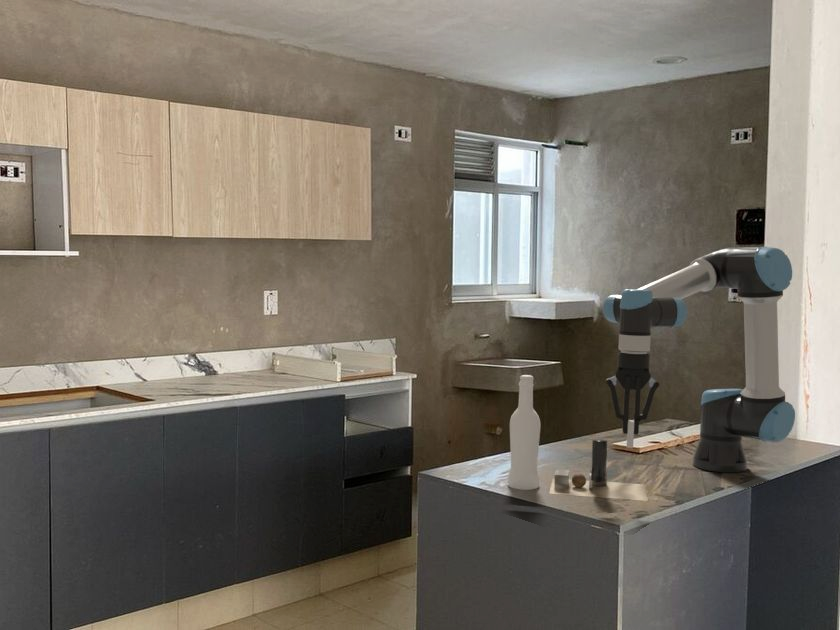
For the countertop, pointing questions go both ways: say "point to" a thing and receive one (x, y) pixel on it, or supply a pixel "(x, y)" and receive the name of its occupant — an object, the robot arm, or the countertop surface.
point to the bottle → (524, 439)
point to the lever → (598, 461)
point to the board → (597, 488)
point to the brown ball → (579, 480)
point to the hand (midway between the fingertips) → (629, 446)
